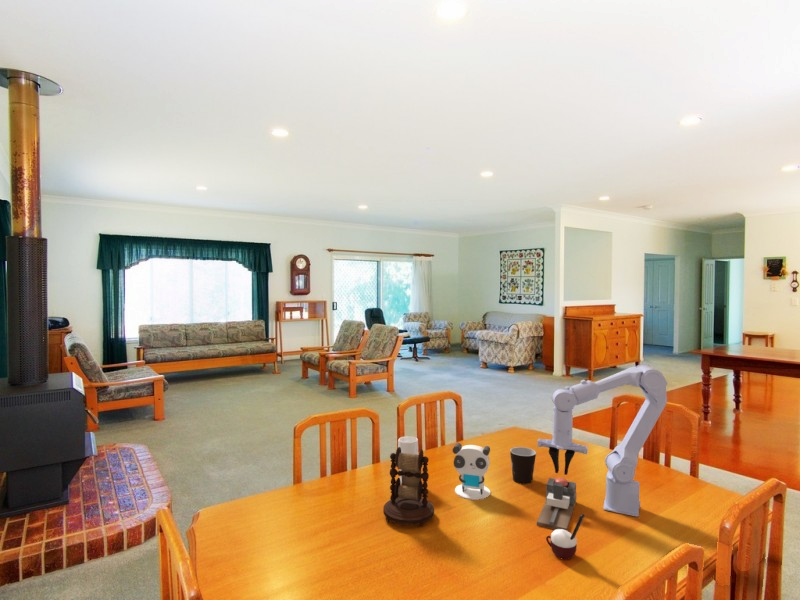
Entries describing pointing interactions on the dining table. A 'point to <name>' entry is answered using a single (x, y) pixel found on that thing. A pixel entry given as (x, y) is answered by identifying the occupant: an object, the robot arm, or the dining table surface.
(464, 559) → the dining table surface
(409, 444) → the drinking glass
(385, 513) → the dark brown wooden stand
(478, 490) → the panda figurine
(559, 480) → the button
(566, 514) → the rail board
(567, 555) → the cocoa
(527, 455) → the coffee mug
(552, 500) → the carriage
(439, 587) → the dining table surface
